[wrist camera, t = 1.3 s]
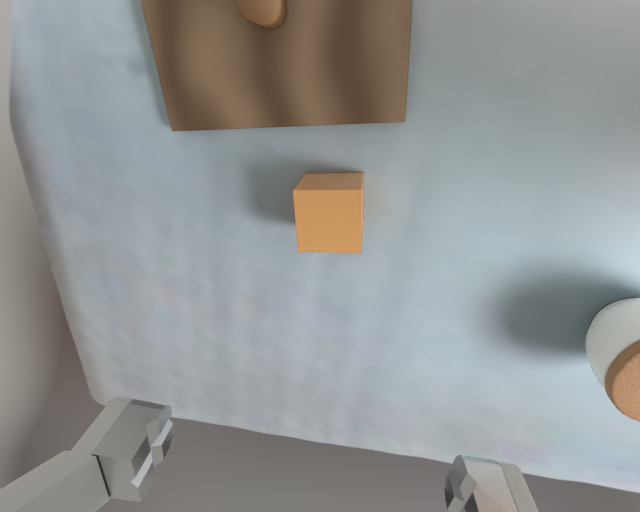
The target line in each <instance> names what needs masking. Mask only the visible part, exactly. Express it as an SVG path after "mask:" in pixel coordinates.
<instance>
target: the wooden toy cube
mask: <svg viewBox="0 0 640 512" xmlns="http://www.w3.org/2000/svg"><path fill="white" fill-rule="evenodd" d="M293 200H294V211H295V221H296V232H297V243H298V252H346V253H362V236H363V172H350V173H305V174H304V175H303V177H302V178H301V180H300V181H299V182H298V184H297V185H296V187H295V188H294V189H293Z"/></svg>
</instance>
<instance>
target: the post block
mask: <svg viewBox="0 0 640 512" xmlns="http://www.w3.org/2000/svg"><path fill="white" fill-rule="evenodd" d="M141 4H142V8H143V12H144V16H145V20H146V24H147V29H148V33H149V37H150V41H151V45H152V49H153V54H154V58H155V62H156V66H157V70H158V74H159V78H160V83H161V87H162V91H163V95H164V99H165V103H166V108H167V112H168V116H169V120H170V124H171V128H172V131H192V130H216V129H240V128H265V127H289V126H314V125H338V124H363V123H387V122H405V116H406V100H407V83H408V66H409V49H410V33H411V16H412V0H141Z"/></svg>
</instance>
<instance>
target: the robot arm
mask: <svg viewBox="0 0 640 512" xmlns="http://www.w3.org/2000/svg"><path fill="white" fill-rule="evenodd" d="M171 414H172V412H171V407H170V406H168V405H163V404H157V403H152V402H146V401H141V400H136V399H131V398H125V397H119V396H116V397H115V398H114V399H112V400H111V401H110V402H109V403H108V404H107V406H106V407H105V408H104V409H103V411H102V412H101V413H100V414H99V416H98V417H97V418H96V420H95V421H94V422H93V423H92V425H91V426H90V427H89V428H88V430H87V431H86V432H85V433H84V435H83V436H82V437H81V438H80V440H79V441H78V442H77V443H76V445H75V446H74V447H73V448H72V450H71V451H63V452H62V453H60V454H58V455H57V456H55V457H53V458H52V459H50V460H48V461H47V462H45V463H43V464H42V465H40V466H38V467H37V468H35V469H33V470H32V471H30V472H28V473H27V474H25V475H23V476H22V477H20V478H18V479H17V480H15V481H13V482H12V483H10V484H8V485H7V486H5V487H3V488H2V489H0V512H96V511H97V510H98V509H99V508H100V507H102V506H103V505H104V504H105V503H106V502H107V501H108V500H109V497H110V498H117V499H124V500H130V501H137V502H142V500H143V498H144V496H145V494H146V492H147V490H148V489H149V487H150V485H151V483H152V481H153V479H154V477H155V470H154V466H155V465H157V464H158V463H159V462H161V461H162V460H163V459H164V458H165V456H166V454H167V452H168V450H169V448H170V445H171V441H172V438H173V432H174V427H173V423H172V422H171V421H170V420H169V418H170V416H171ZM453 463H454V467H455V469H453V470H451V471H449V472H448V474H447V476H446V479H445V488H444V491H445V501H446V506H447V510H448V511H449V512H538V510H537V508H536V505H535V503H534V501H533V498H532V496H531V494H530V491H529V489H528V487H527V484H526V482H525V480H524V477H523V475H522V473H521V470H520V469H519V468H518V466H517V465H515V464H512V463H505V462H499V461H495V460H490V459H483V458H477V457H470V456H463V455H458V456H456V458H455V460H454V462H453Z"/></svg>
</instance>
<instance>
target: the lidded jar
mask: <svg viewBox="0 0 640 512" xmlns="http://www.w3.org/2000/svg"><path fill="white" fill-rule="evenodd" d="M585 348H586V355H587V359H588V361H589V364H590V366H591V369H592V371H593V373H594V374H595V376H596V378H597V380H598V381H599V383H600V384H601V385H602V387H603V388H604V389H605V391H606V393H607V395H608V397H609V398H610V400H611V401H612V403H613V404H614V405H615V406H616V408H617V409H618V410H619V411H620V412H622V413H623V414H624V415H626V416H628V417H630V418H632V419H634V420H637V421H639V422H640V298H626V299H622V300H618V301H615V302H613V303H611V304H609V305H607V306H605V307H604V308H602V309H601V310H600V311H599V312H598V313H597V314H596V315H595V316H594V318H593V320H592V322H591V326H590V328H589V329H588V332H587V335H586V342H585Z"/></svg>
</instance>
